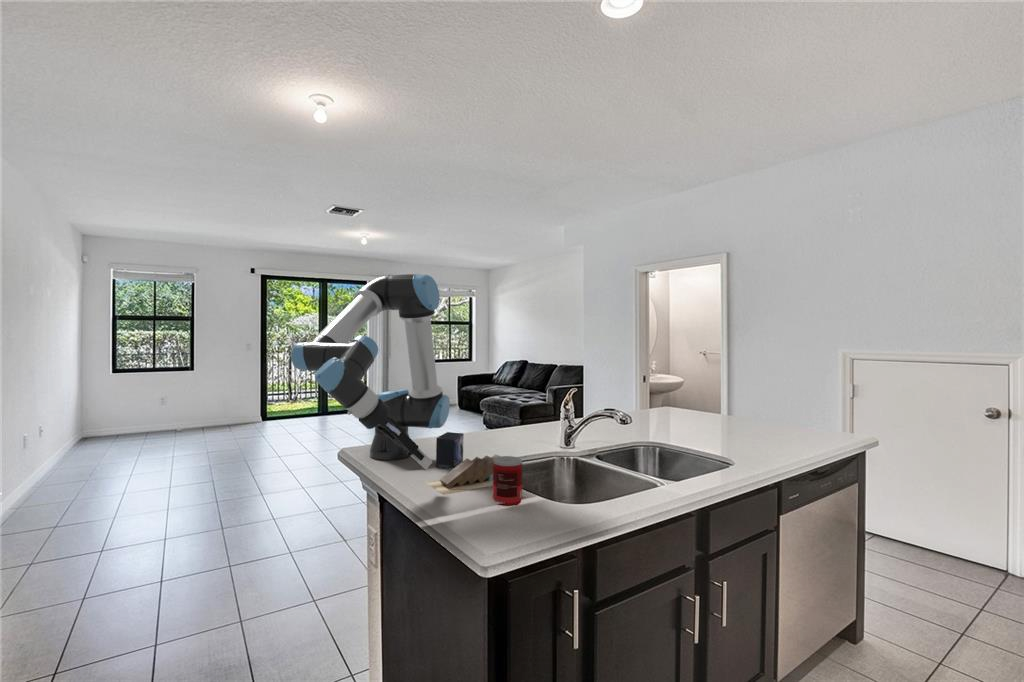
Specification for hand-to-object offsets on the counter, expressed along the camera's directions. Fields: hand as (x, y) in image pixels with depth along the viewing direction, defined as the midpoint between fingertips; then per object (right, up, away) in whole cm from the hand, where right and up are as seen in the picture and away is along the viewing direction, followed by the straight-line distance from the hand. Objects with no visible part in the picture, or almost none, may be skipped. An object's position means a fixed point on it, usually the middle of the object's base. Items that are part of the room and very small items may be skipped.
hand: (428, 464), depth 134 cm
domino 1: (+4, -6, +3) cm, 8 cm away
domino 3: (+10, -6, +7) cm, 13 cm away
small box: (+2, -8, +27) cm, 28 cm away
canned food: (+22, -8, -6) cm, 24 cm away
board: (+9, -8, +6) cm, 13 cm away
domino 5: (+15, -6, +10) cm, 19 cm away
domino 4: (+12, -6, +8) cm, 16 cm away
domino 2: (+7, -6, +5) cm, 10 cm away
